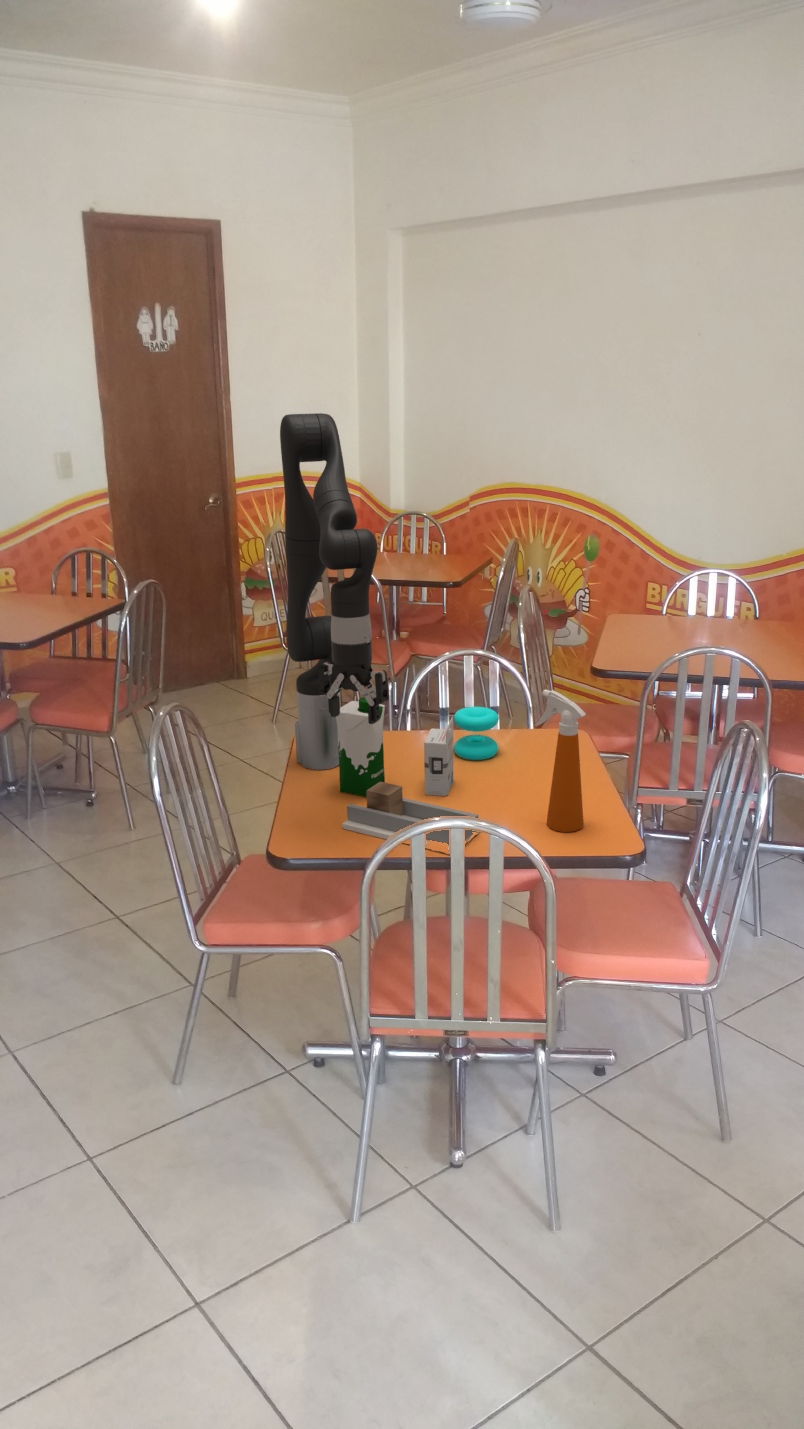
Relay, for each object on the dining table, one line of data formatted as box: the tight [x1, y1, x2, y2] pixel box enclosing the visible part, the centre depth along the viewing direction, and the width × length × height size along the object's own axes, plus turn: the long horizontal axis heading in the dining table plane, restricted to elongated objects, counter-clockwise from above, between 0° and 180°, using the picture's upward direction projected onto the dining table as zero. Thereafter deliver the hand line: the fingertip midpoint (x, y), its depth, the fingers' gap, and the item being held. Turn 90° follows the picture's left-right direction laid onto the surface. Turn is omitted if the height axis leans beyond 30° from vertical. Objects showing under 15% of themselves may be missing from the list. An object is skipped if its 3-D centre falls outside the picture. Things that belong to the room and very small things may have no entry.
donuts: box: [453, 706, 499, 761], centre depth 233 cm, size 10×10×10 cm
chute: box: [341, 797, 480, 851], centre depth 198 cm, size 24×12×4 cm, turn 59°
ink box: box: [423, 716, 454, 797], centre depth 215 cm, size 9×5×15 cm, turn 168°
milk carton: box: [336, 696, 386, 798], centre depth 214 cm, size 9×9×20 cm
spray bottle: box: [534, 689, 586, 833], centre depth 196 cm, size 7×11×26 cm, turn 50°
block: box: [366, 781, 404, 816], centre depth 200 cm, size 5×5×6 cm
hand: (354, 719), depth 198 cm, fingers open, 8 cm apart
